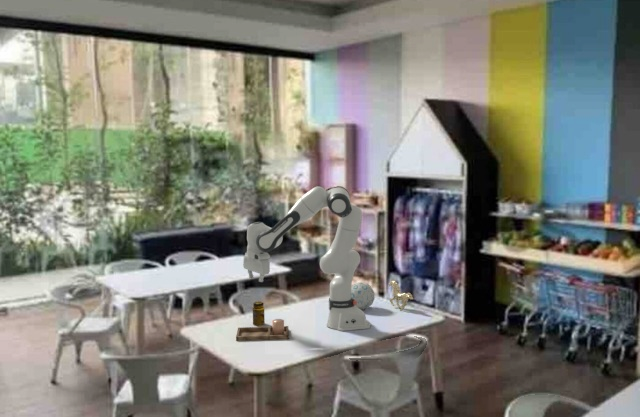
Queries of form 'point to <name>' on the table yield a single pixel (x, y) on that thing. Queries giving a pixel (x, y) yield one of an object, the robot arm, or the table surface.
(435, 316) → the table surface
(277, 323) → the beige cylinder
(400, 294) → the golden horse figurine
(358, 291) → the puzzle ball
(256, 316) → the condiment
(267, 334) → the caddy
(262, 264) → the robot arm
